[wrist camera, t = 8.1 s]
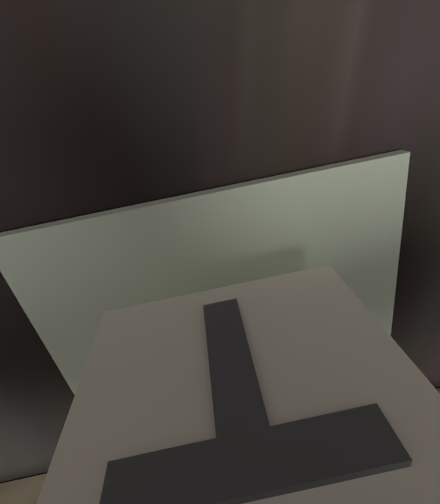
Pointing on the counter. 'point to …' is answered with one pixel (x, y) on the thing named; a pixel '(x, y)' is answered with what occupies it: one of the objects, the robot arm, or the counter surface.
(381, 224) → the sage mat
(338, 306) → the letter cube
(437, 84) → the counter surface
